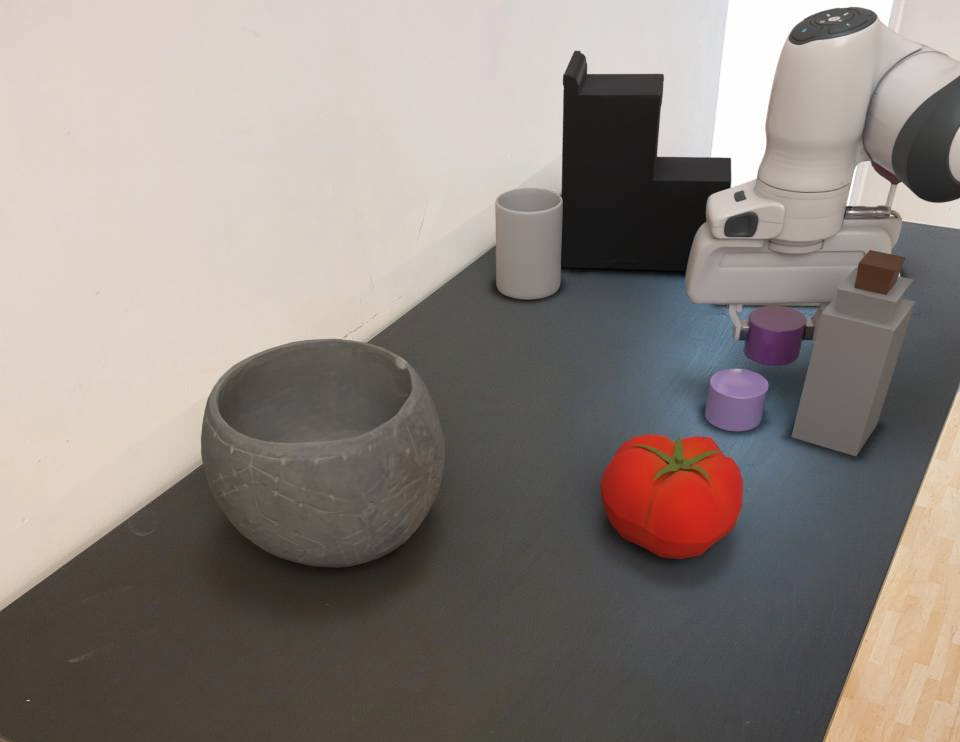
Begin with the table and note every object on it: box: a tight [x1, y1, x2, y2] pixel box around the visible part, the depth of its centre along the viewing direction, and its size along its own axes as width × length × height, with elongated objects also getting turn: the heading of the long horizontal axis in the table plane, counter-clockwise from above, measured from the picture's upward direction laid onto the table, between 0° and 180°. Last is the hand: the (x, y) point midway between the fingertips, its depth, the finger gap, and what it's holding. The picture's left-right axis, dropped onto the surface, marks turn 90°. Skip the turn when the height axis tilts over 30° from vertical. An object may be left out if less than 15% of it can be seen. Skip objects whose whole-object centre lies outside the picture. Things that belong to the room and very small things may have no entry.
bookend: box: [560, 50, 732, 272], centre depth 120 cm, size 23×11×24 cm, turn 79°
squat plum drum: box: [742, 306, 807, 367], centre depth 102 cm, size 6×6×4 cm
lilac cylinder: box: [704, 368, 770, 432], centre depth 99 cm, size 6×6×4 cm
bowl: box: [200, 338, 447, 569], centre depth 83 cm, size 21×21×15 cm
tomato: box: [599, 433, 744, 560], centre depth 84 cm, size 14×13×9 cm
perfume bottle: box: [791, 250, 917, 457], centre depth 91 cm, size 7×7×18 cm
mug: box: [494, 187, 563, 301], centre depth 121 cm, size 12×8×11 cm
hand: (773, 338), depth 102 cm, fingers closed on squat plum drum, 6 cm apart
